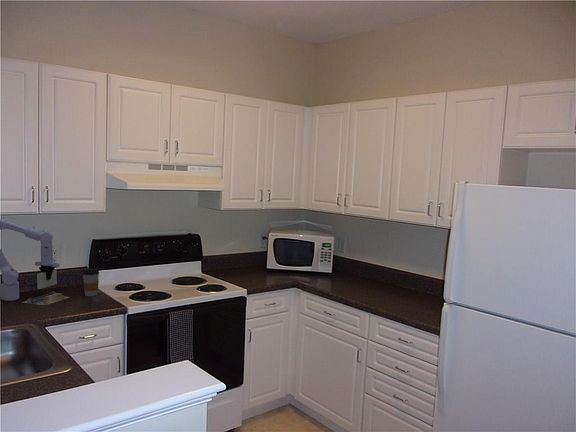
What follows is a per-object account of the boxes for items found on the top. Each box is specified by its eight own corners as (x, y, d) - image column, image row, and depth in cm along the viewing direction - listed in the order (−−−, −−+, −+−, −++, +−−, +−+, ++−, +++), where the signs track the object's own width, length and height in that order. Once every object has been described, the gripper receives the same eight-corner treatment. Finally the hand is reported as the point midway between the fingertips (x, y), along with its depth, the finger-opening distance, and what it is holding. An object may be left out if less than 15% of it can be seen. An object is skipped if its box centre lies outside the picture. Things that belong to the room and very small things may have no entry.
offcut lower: (43, 302, 240) (43, 299, 240) (58, 297, 250) (58, 295, 250) (49, 303, 239) (49, 300, 239) (64, 298, 249) (64, 295, 249)
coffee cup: (98, 298, 255) (97, 270, 254) (81, 298, 253) (81, 271, 252) (100, 294, 263) (100, 267, 262) (85, 294, 261) (84, 268, 260)
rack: (21, 304, 240) (21, 298, 240) (47, 296, 256) (47, 290, 256) (45, 307, 236) (45, 301, 236) (70, 298, 252) (70, 293, 252)
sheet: (37, 288, 247) (37, 273, 246) (55, 283, 259) (54, 269, 258) (39, 289, 247) (38, 274, 246) (56, 284, 258) (56, 269, 257)
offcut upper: (44, 299, 241) (44, 296, 240) (56, 295, 248) (56, 293, 248) (50, 300, 240) (50, 297, 239) (62, 296, 247) (62, 293, 247)
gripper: (63, 254, 253) (64, 279, 254) (41, 252, 257) (42, 277, 258) (53, 256, 246) (53, 282, 247) (31, 254, 250) (32, 279, 252)
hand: (47, 279), depth 252 cm, fingers closed on sheet, 1 cm apart
